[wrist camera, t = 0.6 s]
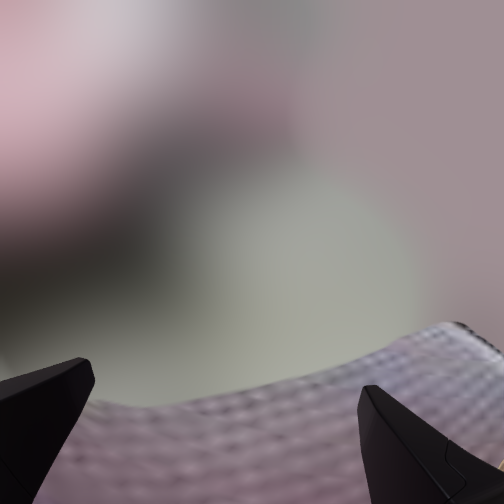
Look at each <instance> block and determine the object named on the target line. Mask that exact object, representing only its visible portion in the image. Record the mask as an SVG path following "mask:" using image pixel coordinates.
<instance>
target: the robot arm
mask: <svg viewBox="0 0 504 504" xmlns="http://www.w3.org/2000/svg"><path fill="white" fill-rule="evenodd" d="M94 384H95V377H94V374H93V370H92V367H91V363H90V361H89V360H87V359H84V358H80V357H78V358H75V359H72V360H69V361H65V362H62V363H59V364H56V365H53V366H50V367H47V368H43V369H40V370H37V371H34V372H31V373H28V374H24V375H21V376H17V377H14V378H10V379H7V380H3V381H1V382H0V504H32V503H33V501H34V498H35V496H36V494H37V492H38V491H39V489H40V487H41V485H42V483H43V481H44V479H45V477H46V475H47V473H48V472H49V470H50V468H51V466H52V464H53V462H54V460H55V459H56V457H57V455H58V453H59V451H60V450H61V448H62V446H63V444H64V443H65V441H66V439H67V437H68V436H69V434H70V432H71V430H72V429H73V427H74V425H75V424H76V422H77V420H78V418H79V417H80V415H81V413H82V410H83V408H84V406H85V404H86V402H87V399H88V397H89V395H90V393H91V391H92V388H93V387H94ZM357 414H358V424H359V434H360V445H361V453H362V459H363V463H364V468H365V473H366V478H367V483H368V488H369V493H370V498H371V503H372V504H504V472H503V471H501V470H499V469H497V468H496V467H494V466H492V465H490V464H488V463H486V462H484V461H482V460H481V459H479V458H477V457H475V456H474V455H472V454H470V453H469V452H467V451H466V450H464V449H463V448H461V447H460V446H458V445H457V444H455V443H454V442H453V441H451V440H448V438H447V437H446V436H444V435H443V434H441V433H440V432H439V431H437V430H436V429H435V428H433V427H432V426H431V425H429V424H428V423H426V422H425V421H424V420H422V419H421V418H420V417H418V416H417V415H416V414H414V413H413V412H412V411H410V410H409V409H408V408H406V407H405V406H404V405H402V404H401V403H400V402H398V401H397V400H396V399H394V398H393V397H392V396H390V395H389V394H388V393H386V392H385V391H384V390H382V389H381V388H380V387H379V386H377V385H366V386H364V387H363V388H362V391H361V395H360V399H359V403H358V408H357Z"/></svg>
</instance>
